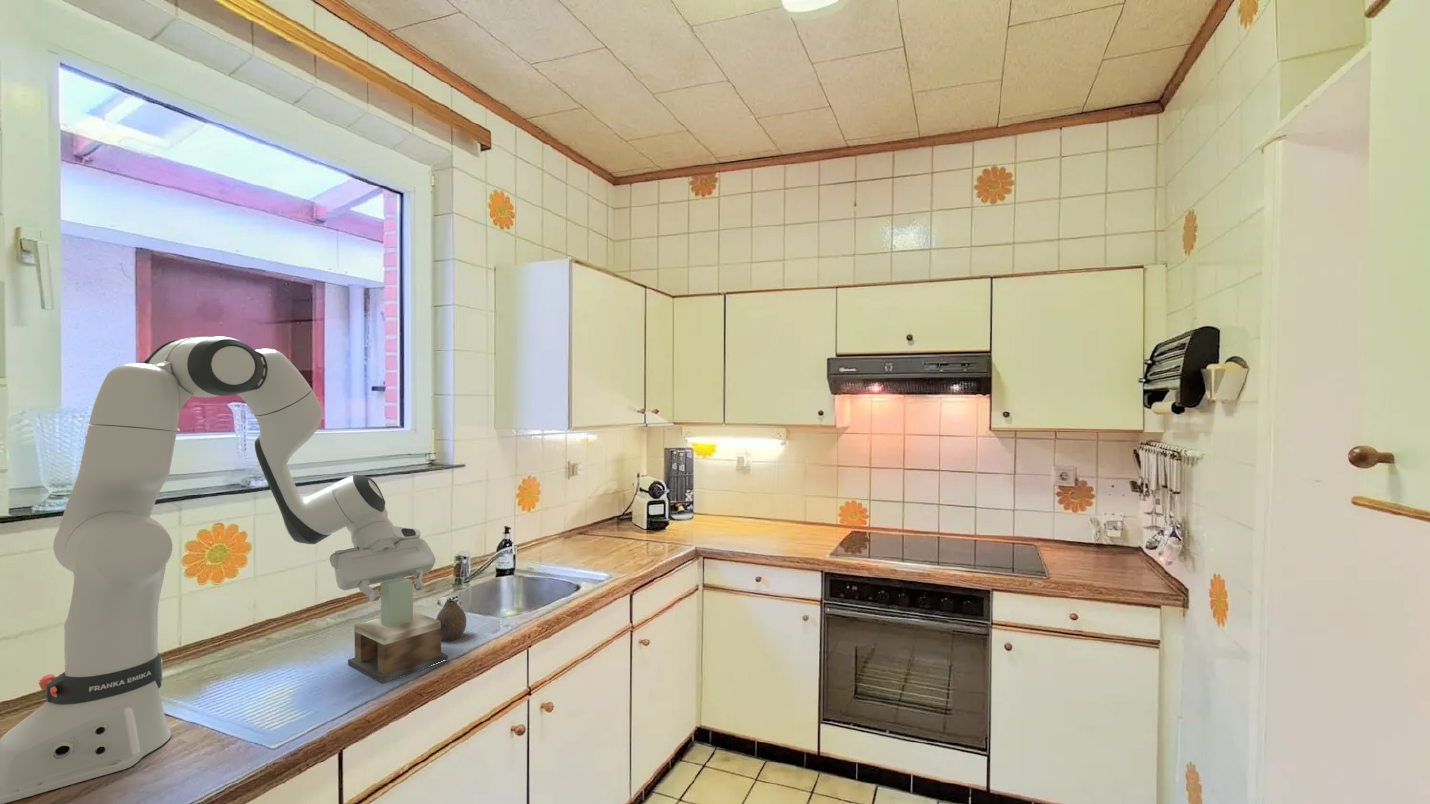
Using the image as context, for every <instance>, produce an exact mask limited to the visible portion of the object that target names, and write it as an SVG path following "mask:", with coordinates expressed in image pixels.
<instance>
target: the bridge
mask: <svg viewBox="0 0 1430 804" xmlns="http://www.w3.org/2000/svg"><path fill="white" fill-rule="evenodd" d="M353 627H354V657H351V658H349V659H347V666H349V667H350V668H352V669H355V670H357V671H359V672H360V673H362V674H364V675H366V676H367V675H368V676H367V677H369V676H370V677H369V678H371V677H372V678H371V679H373V680H375V679H376V680H377V682H378V681H379V683H380V682H381V683H380V684H384V683H383V682H385V683H386V681H388V682H390V681H392V680H391V679H393V680H395V679H394V678H396V679H398V678H397V677H399V678H401V677H400V676H402V677H404V676H403V675H405V676H408V675H410V673H411V674H413V672H414V673H416V672H415V671H417V672H419V671H418V670H420V671H421V669H422V670H424V669H423V668H425V669H427V668H426V667H428V668H430V667H429V666H431V665H433V664H436V663H438V662H441V661H443V660H447V659H448V660H449V655H448V654H446V653H444V652H442V639H441V621H438V620H436V619H435V618H433V617H430V616H427V615H424V614H423V613H418V612H416V611H415V610H413V622H409V623H406V624H402V625H399V626H395V627H391V628H389V627H386V626H384V625H381V617H378V618H374V619H370V620H366V621H362V622H358V623H355V624H354V625H353ZM431 667H432V666H431ZM376 680H375V681H376ZM389 680H390V681H389Z"/></svg>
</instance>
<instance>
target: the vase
mask: <svg viewBox="0 0 1430 804" xmlns="http://www.w3.org/2000/svg"><path fill="white" fill-rule="evenodd" d="M435 618H436V620H438V621H441V641H446V642H450V641H455V640H458V639H460V638H461V636H463V634H464V633H465V630H466V627H467V615H466V613H465V611H464V609H463V608H462V607H461V606H460V605H459V604H458V602H457V600H455V599H451V600H447V601H445V603H444V604H443V606H442V608H441V609H440V611H439V612H438V613H437V616H436V617H435Z"/></svg>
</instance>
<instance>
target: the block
mask: <svg viewBox="0 0 1430 804" xmlns="http://www.w3.org/2000/svg"><path fill="white" fill-rule="evenodd" d="M413 584H414V583H413V579H409V578H407V577H404V578H399V579H395V580H390V581H386V582H381V583H380V618H381V625H384V626H386V627H389V628H391V627H395V626H399V625H402V624H406V623H409V622H413V611H414V603H413V601H414V600H413V599H414V596H413V595H414V594H413V592H414V591H413V590H414V588H413Z"/></svg>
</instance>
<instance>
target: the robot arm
mask: <svg viewBox="0 0 1430 804" xmlns="http://www.w3.org/2000/svg"><path fill="white" fill-rule="evenodd" d="M235 395H237V396H238V397H239V398H241V399H242V400H243V401H244V402H245V404H246V405H247V407H248V409H249V410H250V411H251V413H252V414H253V415H254V417H255V419H256V420H257V421H256V422H257V423H258V428H259V435H258V437H257V438H256V439H255V441H254V450H255V451H254V452H255V456H256V459H257V461H258V464H259V466H260V468H261V470H262V473H263V475H264V478H265V480H266V482H267V484H268V486H269V489H270V491H271V493H272V495H273V498H274V500H275V502H276V504H277V506H278V508H279V511H280V514H281V516H282V519H283V523H284V527H285V530H286V531H287V533H288V535H289V536H290V537H291V539H292V540H293V541H294V542H297V543H299V544H304V545H305V544H307V545H316V544H318V543H319V542H321V541H323V540H325V539H327V538H328V537H329V536H331V535H332V534H333V533H336V532H338V531H340V530H342V529H343V528H344V529H345V528H346V529H347V530H348V531H349V532H350V536H351V543H352V545H353V547H350V548H347V549H339V550H336V551H334V552H333V553H332V554H331V555H330V556H329V562H330V565H331V567H332V568H333V569H334V574H335V575H334V576H335V580H336V584H337V587H338V588H339V589H341V590H342V591H349V590H353V589H354V590H355V589H359V591H360V592H361V593H362V594H364V595H365V596H367V597H368V598H369V601H370V603H371V602H376V601H377V602H378V601H380V599H381V593H380V592H379V589H373V588H372V587H371V586H372V585H375V584H381V583H382V582H386V581H391V580H395V579H400V578H407V577H413V578H414V579H416V580H415V581H414V583H412V584H413V590H414V591H415V592H418V591H423V588H424V587H425V584H424V582H423V576H424V574H427V573H430V572H431V571H432V569H433V568H434V566H435V564H436V557H435V555H434V552H433V550H432V548H431V547H430V546H429V544H428V543H427V542H426V540H424V539H422V538H420V537H421V534H422V533H421V531H420V530H419V529H417V528H410V527H402V526H397V525H394V523H392V521H391V520H390V519H389V517H388V515H389V514H388V511H387V508H386V500H385V498H384V496H383V493H382V491H381V489H380V487H379V486H378V484H377V482H375V480H374V479H372V478H370V477H368V476H365V475H361V474H353V475H350V476H347V477H345V478H342V479H341V480H340V479H339V480H338V481H336V482H334V483H332V484H331V485H329V486H327V487H324V488H322V489H320V490H318V491H316V492H314V493H312V494H309V495H306V496H303V495H300V492H299V490H298V488H297V485H296V484H295V481H294V479H293V477H292V474H291V473H290V470H289V468H288V462H289V461H290V459H291V457H292V456H293V455H294V454H295V453H296V452H297V451H299V449H300V448H301V447H302V446H303V445H304V444H305V443H306V442H308V440H310V439H311V438H312V437H313V436H314V434H315V433H316V432H317V430H318V428H319V427H320V426H321V423H322V419H323V408H322V405H321V403H320V400H319V398H318V397H317V394H316V393H315V392H314V390H313V388H312V387H311V386H310V385H309V382H308V381H307V380H306V379H305V377H304V376H303V374H302V373H301V372H300V371H299V369H298V368H297V367H296V366H295V365H294V364H293V363H292V362H291V360H290V359H289V358H287V357H286V356H285V354H283V352H281V351H279V350H276V349H273V348H261V349H260V348H259V349H253V347H251V346H250V345H249V344H247V343H245V342H243V341H241V340H239V339H236V338H232V337H227V336H222V335H221V336H217V335H216V336H200V335H199V336H191V337H187V338H182V339H175V340H171V341H168V342H165V343H164V344H161V345H160V346H159V347H157V348H156V349H155V350H154V351H152V353H151V354H150V355H149V356H148V358H146V360H145V361H142V363H138V362H136V363H132V362H131V363H125V364H121V365H119V366H115V368H111V370H109V372H108V373H107V375H106V376H105V377H104V380H103V381H102V383H101V386H100V388H99V391H98V393H97V394H96V399H95V401H94V404H93V407H92V410H91V415H90V419H89V422H88V428H87V433H86V436H85V441H84V446H83V452H82V456H81V461H80V467H79V470H78V474H77V477H76V480H75V483H74V485H73V488H72V490H71V492H70V495H69V498H68V499H67V500H68V501H67V503H66V505H65V509H64V512H63V515H62V517H61V521H60V524H59V527H58V530H57V532H56V534H55V536H54V540H53V552H54V556H55V558H56V560H57V562H58V563H59V564H60V565H61V566H62V567H63V568H64V569H66V570H68V571H70V572H72V574H73V587H72V594H71V600H70V605H69V609H68V614H67V618H66V619H65V621H64V671H63V672H61V674H59V675H58V676H57V675H55V674H52V673H50V674H46V675H43V676H42V677H41V679H39V680H38V681H39V682H38V684H39V685H38V686H39V687H40V689H41V690H43V691H45V699H46V701H45V702H44V703H42V705H41V706H39V707H38V708H37V709H36V710H35V711H33V712H31V714H29V715H28V716H26V717H25V718H24V719H23V720H21V721H20V722H19V723H17V724H16V725H14V727H12V728H10V730H8V731H7V732H5V733H4V734H3V735H2V737H1V738H0V804H7V803H10V802H14V801H17V800H18V801H19V800H21V799H25V798H29V797H32V796H35V795H38V794H43V793H46V792H49V791H53V790H56V789H59V788H64V787H67V786H69V785H74V784H77V783H80V782H85V781H88V780H92V779H94V778H95V779H96V778H98V777H101V776H105V775H109V774H114V773H115V772H120V771H124V770H126V769H128V768H131V767H132V766H134V765H135V764H137V763H139V761H140V760H141V759H142V758H143V757H145V756H146V755H148V754H149V753H152V752H153V751H155V750H156V749H158V748H160V747H161V746H163V745H165V743H167V741H168V740H169V739H170V738H171V737H172V730H171V729H170V728H171V727H170V726H169V723H168V721H167V718H166V715H165V710H164V706H163V701H162V695H161V687H162V681H163V659H162V654H161V653H160V652H159V647H158V646H159V644H158V643H159V642H158V639H159V638H158V634H159V632H158V627H159V625H158V620H159V619H158V617H159V616H158V615H159V613H158V612H159V604H160V603H159V602H160V597H161V591H162V587H163V583H164V578H165V574H166V566H167V564H168V561H169V560H170V558H171V556H172V553H173V541H172V538H171V536H170V534H169V533H168V531H167V529H165V527H164V526H163V525H162V524H161V523H160V522H159V521H157V520H156V519H153V518H151V514H152V511H153V508H154V506H155V504H156V501H157V498H158V497H159V494H160V492H161V490H162V488H163V487H164V484H165V483H166V482H167V480H168V478H169V476H170V471H171V466H172V459H173V455H174V449H175V446H176V445H175V444H176V438H177V435H178V434H177V433H178V432H177V431H178V426H179V418H180V414H181V412H182V409H183V408H184V405H185V404H186V403H187V401H188V400H189V399H191V398H192V397H196V398H214V397H215V398H216V397H231V396H235Z"/></svg>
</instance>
